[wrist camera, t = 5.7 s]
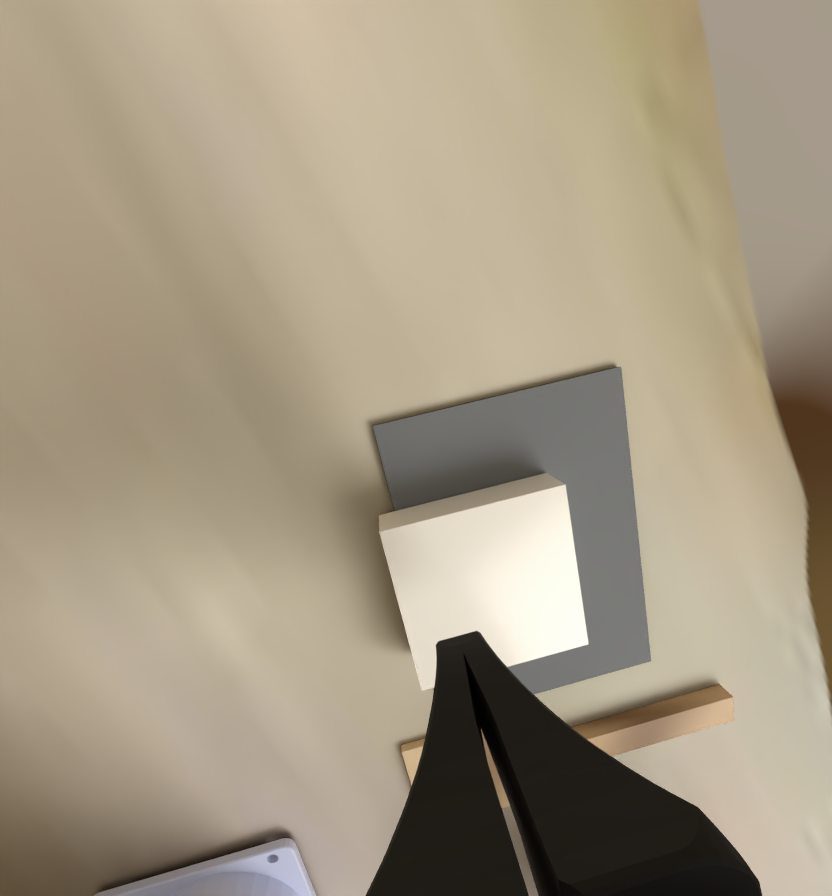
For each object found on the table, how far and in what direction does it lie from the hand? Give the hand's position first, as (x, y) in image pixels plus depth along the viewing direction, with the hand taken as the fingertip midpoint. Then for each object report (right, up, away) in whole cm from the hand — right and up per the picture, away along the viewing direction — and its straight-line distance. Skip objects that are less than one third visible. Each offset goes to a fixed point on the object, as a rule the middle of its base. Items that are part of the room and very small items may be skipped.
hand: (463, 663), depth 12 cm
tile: (-2, 0, +4) cm, 4 cm away
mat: (+3, +2, +5) cm, 6 cm away
